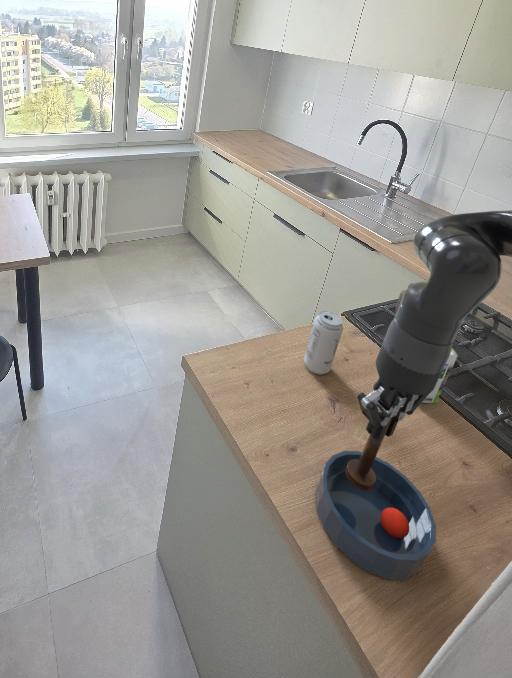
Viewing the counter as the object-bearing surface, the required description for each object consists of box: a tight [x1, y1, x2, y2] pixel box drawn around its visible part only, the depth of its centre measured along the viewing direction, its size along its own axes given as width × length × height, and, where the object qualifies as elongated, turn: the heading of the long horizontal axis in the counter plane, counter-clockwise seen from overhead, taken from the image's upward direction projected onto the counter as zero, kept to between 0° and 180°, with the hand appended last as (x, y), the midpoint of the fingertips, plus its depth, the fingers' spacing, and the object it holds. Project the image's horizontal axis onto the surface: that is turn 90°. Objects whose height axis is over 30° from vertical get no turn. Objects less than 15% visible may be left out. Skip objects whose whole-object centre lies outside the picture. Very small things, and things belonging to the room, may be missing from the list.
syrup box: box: [422, 347, 459, 404], centre depth 93 cm, size 6×6×14 cm
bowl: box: [314, 450, 437, 580], centre depth 70 cm, size 16×16×6 cm
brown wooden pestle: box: [345, 409, 393, 491], centre depth 68 cm, size 4×4×16 cm
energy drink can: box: [303, 310, 344, 376], centre depth 99 cm, size 6×6×15 cm
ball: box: [381, 508, 409, 539], centre depth 68 cm, size 4×4×4 cm
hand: (378, 432), depth 67 cm, fingers closed on brown wooden pestle, 2 cm apart
